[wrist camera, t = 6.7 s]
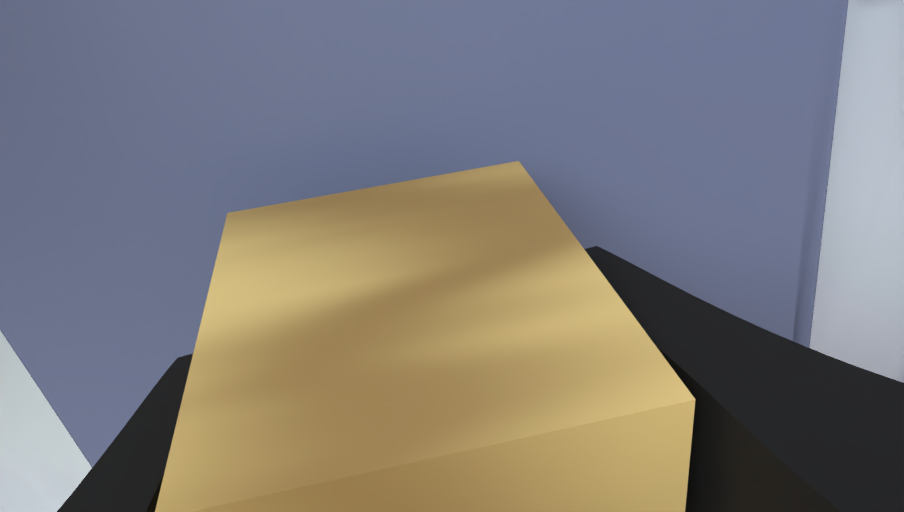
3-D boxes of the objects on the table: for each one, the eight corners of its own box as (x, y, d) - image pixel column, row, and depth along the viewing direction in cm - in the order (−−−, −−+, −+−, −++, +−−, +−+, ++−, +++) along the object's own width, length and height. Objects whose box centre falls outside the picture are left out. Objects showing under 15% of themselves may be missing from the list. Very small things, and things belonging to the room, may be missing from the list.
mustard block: (518, 160, 9) (694, 399, 5) (533, 381, 11) (669, 685, 7) (227, 213, 9) (153, 520, 5) (295, 432, 11) (288, 785, 7)
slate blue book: (747, -211, 12) (874, -236, 9) (729, 306, 17) (805, 380, 15) (-92, -28, 11) (-218, 3, 8) (181, 458, 16) (159, 568, 14)
